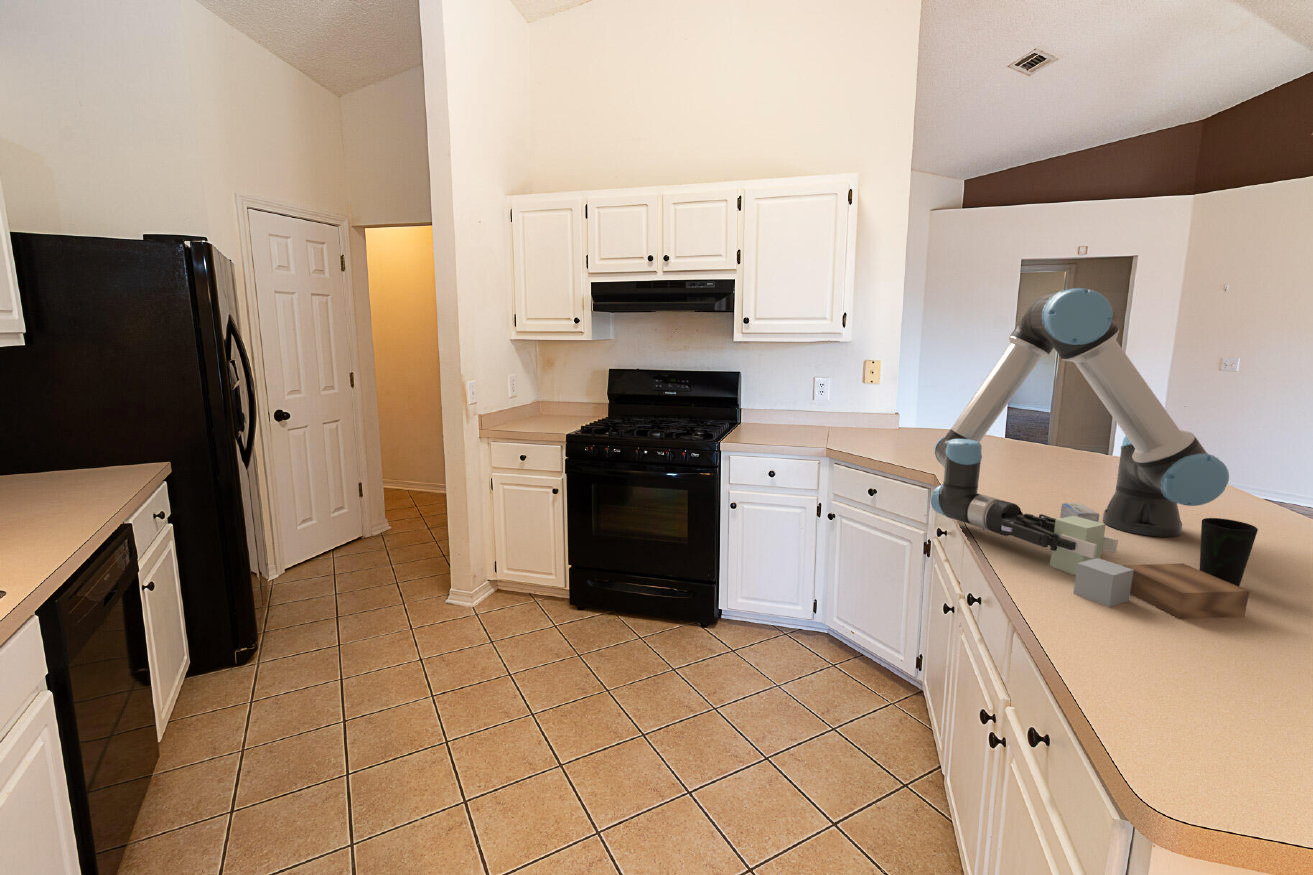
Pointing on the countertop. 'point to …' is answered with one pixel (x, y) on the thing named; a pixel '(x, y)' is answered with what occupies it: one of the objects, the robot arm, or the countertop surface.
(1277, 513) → the countertop surface
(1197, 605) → the walnut block
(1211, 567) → the cup
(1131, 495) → the robot arm
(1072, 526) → the sage block
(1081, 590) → the grey block
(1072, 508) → the medicine box
